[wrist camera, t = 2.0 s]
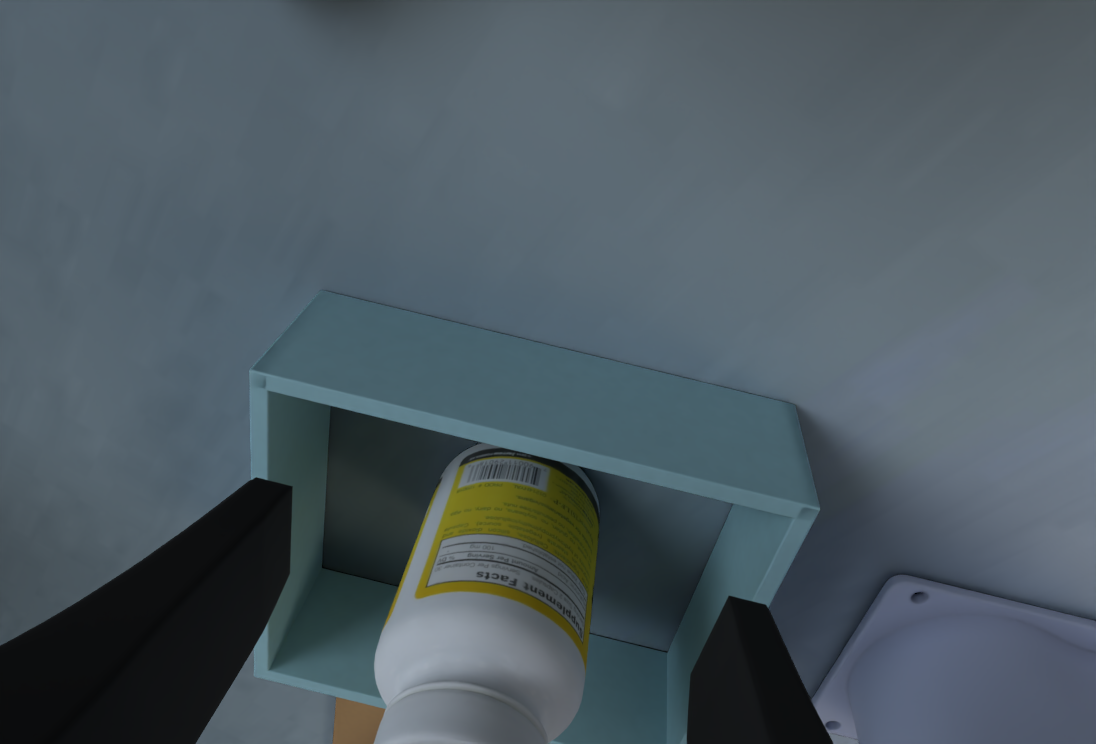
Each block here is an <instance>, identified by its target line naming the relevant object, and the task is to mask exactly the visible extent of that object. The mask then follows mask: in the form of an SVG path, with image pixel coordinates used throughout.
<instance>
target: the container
mask: <svg viewBox="0 0 1096 744" xmlns="http://www.w3.org/2000/svg"><path fill="white" fill-rule="evenodd" d="M249 383H250V441H251V480H252V479H254V478H256V477H257V478H261V479H265V480H269V481H273V482H277V483H281V484H285V485H289V486H293V491H292V524H291V557H290V575H289V577H288V579H287V581H286V584H285V586H284V588H283V590H282V593H281V595H280V597H279V599H278V602H277V604H276V606H275V608H274V610H273V612H272V614H271V617H270V619H269V621H268V623H267V625H266V627H265V629H264V631H263V633H262V635H261V636H260V638H259V640H258V642H257V643H256V645H255V647H254V676H255V677H258V678H262V679H266V680H270V681H274V682H278V683H282V684H286V685H290V686H294V687H298V688H302V689H306V690H311V691H315V692H319V693H323V694H327V695H331V696H335V697H339V698H343V699H347V700H351V701H355V702H359V703H363V704H367V705H371V706H375V707H379V708H383V709H386V707H387V705H386V704H385V702H384V700H383V699H382V697H381V695H380V692H379V690H378V687H377V684H376V679H375V671H374V661H375V653H376V649H377V646H378V642H379V639H380V636H381V632H382V630H383V627H384V624H385V622H386V619H387V616H388V614H389V611H390V608H391V606H392V603H393V601H394V598H395V595H396V592H397V590H398V587H397V586H393V585H389V584H385V583H381V582H376V581H372V580H368V579H364V578H360V577H356V576H352V575H348V574H344V573H340V572H336V571H332V570H328V569H323V568H322V556H323V538H324V519H325V501H326V482H327V463H328V445H329V426H330V408H331V406H334V407H338V408H342V409H346V410H350V411H354V412H358V413H362V414H366V415H371V416H375V417H379V418H383V419H387V420H391V421H395V422H399V423H403V424H407V425H412V426H416V427H420V428H424V429H428V430H432V431H436V432H440V433H444V434H449V435H453V436H457V437H461V438H465V439H469V440H473V441H477V442H481V443H486V444H490V445H494V446H498V447H502V448H506V449H510V450H514V451H518V452H523V453H527V454H531V455H535V456H539V457H543V458H547V459H551V460H555V461H560V462H564V463H568V464H572V465H576V466H580V467H584V468H588V469H592V470H597V471H601V472H605V473H609V474H613V475H617V476H621V477H625V478H629V479H634V480H638V481H642V482H646V483H650V484H654V485H658V486H662V487H666V488H671V489H675V490H679V491H683V492H687V493H691V494H695V495H699V496H703V497H708V498H712V499H716V500H720V501H724V502H728V503H732V504H733V506H732V508H731V510H730V512H729V515H728V517H727V519H726V522H725V524H724V526H723V528H722V531H721V533H720V535H719V537H718V540H717V542H716V544H715V546H714V549H713V551H712V553H711V555H710V558H709V560H708V562H707V565H706V567H705V569H704V571H703V574H702V576H701V578H700V580H699V583H698V585H697V587H696V589H695V592H694V594H693V596H692V598H691V601H690V603H689V605H688V608H687V610H686V612H685V614H684V617H683V619H682V621H681V623H680V626H679V628H678V630H677V632H676V635H675V637H674V639H673V641H672V644H671V646H670V648H669V651H668V653H666V652H662V651H658V650H654V649H650V648H646V647H641V646H637V645H633V644H629V643H625V642H621V641H617V640H613V639H609V638H605V637H601V636H597V635H593V634H589V643H588V654H587V665H586V675H585V684H584V690H583V696H582V701H581V704H580V707H579V709H578V712H577V713H576V715H575V717H574V719H573V721H572V722H571V723H570V725H569V726H568V727H567V728H566V729H565V730H564V731H563V732H562V733H561V734H560V735H559V736H558V737H557V738H555V739H554V740H552V741H551V742H549V743H548V744H687V721H688V703H689V688H690V674H691V672H692V670H693V668H694V666H695V664H696V662H697V660H698V658H699V656H700V654H701V652H702V649H703V647H704V645H705V643H706V641H707V639H708V637H709V635H710V633H711V631H712V629H713V627H714V625H715V623H716V621H717V619H718V617H719V615H720V613H721V611H722V608H723V606H724V604H725V602H726V600H727V598H728V596H733V597H737V598H741V599H745V600H749V601H753V602H757V603H761V604H765V605H767V607H768V608H769V606H770V604H771V602H772V600H773V598H774V596H775V595H776V593H777V591H778V589H779V587H780V585H781V583H782V581H783V579H784V577H785V576H786V574H787V572H788V570H789V568H790V566H791V564H792V562H793V560H794V559H795V557H796V555H797V553H798V551H799V549H800V547H801V545H802V543H803V541H804V540H805V538H806V536H807V534H808V532H809V530H810V528H811V526H812V524H813V523H814V521H815V519H816V517H817V515H818V513H819V511H820V505H819V500H818V496H817V492H816V488H815V484H814V480H813V476H812V472H811V468H810V464H809V460H808V456H807V452H806V448H805V444H804V439H803V435H802V431H801V427H800V423H799V419H798V415H797V411H796V407H795V405H794V404H791V403H787V402H783V401H778V400H774V399H770V398H766V397H762V396H758V395H754V394H749V393H745V392H741V391H737V390H733V389H729V388H725V387H721V386H716V385H712V384H708V383H704V382H700V381H696V380H692V379H687V378H683V377H679V376H675V375H671V374H667V373H663V372H659V371H654V370H650V369H646V368H642V367H638V366H634V365H630V364H625V363H621V362H617V361H613V360H609V359H605V358H601V357H596V356H592V355H588V354H584V353H580V352H576V351H572V350H568V349H563V348H559V347H555V346H551V345H547V344H543V343H539V342H534V341H530V340H526V339H522V338H518V337H514V336H510V335H506V334H501V333H497V332H493V331H489V330H485V329H481V328H477V327H472V326H468V325H464V324H460V323H456V322H452V321H448V320H444V319H439V318H435V317H431V316H427V315H423V314H419V313H415V312H410V311H406V310H402V309H398V308H394V307H390V306H386V305H382V304H377V303H373V302H369V301H365V300H361V299H357V298H353V297H348V296H344V295H340V294H336V293H332V292H328V291H324V290H320V291H319V293H318V294H317V295H316V296H315V297H314V298H313V299H312V300H311V301H310V303H309V304H308V305H307V306H306V307H305V308H304V309H303V310H302V312H301V313H300V314H299V315H298V316H297V317H296V318H295V319H294V321H293V322H292V323H291V324H290V325H289V326H288V327H287V328H286V330H285V331H284V332H283V333H282V334H281V335H280V336H279V337H278V339H277V340H276V341H275V342H274V343H273V344H272V345H271V346H270V348H269V349H268V350H267V351H266V352H265V353H264V354H263V355H262V357H261V358H260V359H259V360H258V361H257V362H256V363H255V364H254V366H253V367H252V368H251V369H250V370H249Z"/></svg>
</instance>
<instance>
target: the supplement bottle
mask: <svg viewBox="0 0 1096 744" xmlns="http://www.w3.org/2000/svg"><path fill="white" fill-rule="evenodd" d="M599 520H600V510H599V502H598V498H597V494H596V492H595V490H594V487H593V485H592V484H591V482H590V480H589V479H588V477H587V476H586V474H585V473H584V472H583V471H582V470H581V469H580V468H579V467H578V466H576V465H572V464H568V463H564V462H560V461H555V460H551V459H547V458H543V457H539V456H535V455H531V454H527V453H523V452H518V451H514V450H510V449H506V448H502V447H498V446H494V445H490V444H486V443H481V444H478V445H475V446H473V447H471V448H469V449H467V450H465V451H464V452H462V453H461V454H459V455H458V456H457V457H456V458H455V459H453V460H452V461H451V462H450V464H449V465H448V466H447V467H446V469H445V470H444V472H443V474H442V475H441V477H440V480H439V482H438V484H437V486H436V489H435V491H434V494H433V497H432V499H431V502H430V504H429V507H428V509H427V512H426V515H425V517H424V520H423V523H422V526H421V528H420V531H419V534H418V536H417V539H416V542H415V544H414V547H413V550H412V552H411V555H410V558H409V560H408V563H407V566H406V568H405V571H404V574H403V577H402V579H401V582H400V585H399V587H398V590H397V592H396V595H395V598H394V601H393V603H392V606H391V608H390V611H389V614H388V616H387V619H386V622H385V624H384V627H383V630H382V632H381V636H380V639H379V642H378V646H377V649H376V653H375V661H374V671H375V679H376V684H377V687H378V690H379V692H380V695H381V697H382V699H383V700H384V702H385V704H386V705H387V707H386V710H385V712H384V716H383V718H382V720H381V722H380V725H379V728H378V731H377V735H376V738H375V741H374V744H548V743H549V742H551V741H552V740H554V739H555V738H557V737H558V736H559V735H560V734H561V733H562V732H563V731H564V730H565V729H566V728H567V727H568V726H569V725H570V723H571V722H572V721H573V719H574V717H575V715H576V713H577V712H578V709H579V707H580V704H581V701H582V696H583V690H584V684H585V675H586V665H587V654H588V643H589V632H590V622H591V610H592V602H593V589H594V580H595V568H596V558H597V548H598V538H599Z"/></svg>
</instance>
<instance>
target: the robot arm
mask: <svg viewBox="0 0 1096 744" xmlns="http://www.w3.org/2000/svg"><path fill="white" fill-rule="evenodd" d="M292 491H293V486H289V485H285V484H281V483H277V482H273V481H269V480H265V479H261V478H257V477H256V478H254V479H252V480H250V481H248V482H247V483H246V484H245V485H243V486H242V487H241V488H239V489H238V490H237V491H235V492H234V493H233V494H232V495H230V496H229V497H228V498H226V499H225V500H224V501H222V502H221V503H220V504H219V505H217V506H216V507H215V508H213V509H212V510H211V511H209V512H208V513H207V514H205V515H204V516H203V517H201V518H200V519H199V520H197V521H196V522H195V523H193V524H192V525H191V526H189V527H188V528H187V529H185V530H184V531H182V532H181V533H180V534H178V535H177V536H175V537H174V538H173V539H171V540H170V541H168V542H167V543H166V544H164V545H163V546H161V547H160V548H159V549H157V550H156V551H154V552H153V553H151V554H150V555H149V556H147V557H146V558H144V559H143V560H142V561H140V562H139V563H137V564H136V565H134V566H133V567H131V568H130V569H128V570H127V571H125V572H124V573H122V574H120V575H119V576H117V577H116V578H114V579H113V580H111V581H110V582H108V583H106V584H105V585H103V586H102V587H100V588H99V589H97V590H96V591H94V592H92V593H91V594H89V595H88V596H86V597H85V598H83V599H82V600H80V601H78V602H77V603H75V604H73V605H72V606H70V607H68V608H67V609H65V610H63V611H62V612H60V613H58V614H57V615H55V616H53V617H51V618H50V619H48V620H46V621H45V622H43V623H41V624H39V625H37V626H36V627H34V628H32V629H30V630H28V631H27V632H25V633H23V634H21V635H19V636H18V637H16V638H14V639H12V640H10V641H8V642H7V643H5V644H3V645H1V646H0V744H195V743H196V742H197V740H198V739H199V737H200V735H201V734H202V732H203V730H204V729H205V727H206V725H207V724H208V722H209V721H210V719H211V717H212V716H213V714H214V712H215V711H216V709H217V707H218V706H219V704H220V703H221V701H222V699H223V698H224V696H225V694H226V693H227V691H228V689H229V688H230V686H231V685H232V683H233V681H234V680H235V678H236V676H237V675H238V673H239V671H240V670H241V668H242V666H243V665H244V663H245V661H246V660H247V658H248V657H249V655H250V653H251V652H252V650H253V648H254V647H255V645H256V643H257V642H258V640H259V638H260V636H261V635H262V633H263V631H264V629H265V627H266V625H267V623H268V621H269V619H270V617H271V614H272V612H273V610H274V608H275V606H276V604H277V602H278V599H279V597H280V595H281V593H282V590H283V588H284V586H285V584H286V581H287V579H288V577H289V575H290V557H291V524H292ZM917 592H922V593H919V594H914V593H917ZM828 733H832V734H836V735H841V736H845V737H849V738H853V739H857V740H858V741H859V744H1096V621H1094V620H1090V619H1086V618H1082V617H1078V616H1073V615H1069V614H1065V613H1061V612H1057V611H1053V610H1049V609H1045V608H1041V607H1037V606H1032V605H1028V604H1024V603H1020V602H1016V601H1012V600H1008V599H1004V598H1000V597H995V596H991V595H987V594H983V593H979V592H975V591H971V590H967V589H963V588H959V587H954V586H950V585H946V584H942V583H938V582H934V581H930V580H926V579H922V578H917V577H913V576H909V575H896V576H894V577H891V578H890V579H889V580H888V581H887V582H886V583H885V584H884V586H883V588H882V589H881V591H880V592H879V594H878V596H877V597H876V599H875V600H874V602H873V603H872V605H871V607H870V608H869V610H868V611H867V613H866V614H865V616H864V618H863V619H862V621H861V622H860V624H859V625H858V627H857V629H856V630H855V632H854V633H853V635H852V637H851V638H850V640H849V641H848V643H847V644H846V646H845V648H844V649H843V651H842V652H841V654H840V655H839V657H838V659H837V660H836V662H835V663H834V665H833V666H832V668H831V670H830V671H829V673H828V674H827V676H826V677H825V679H824V681H823V682H822V684H821V685H820V687H819V689H818V690H817V692H816V693H815V695H814V696H813V698H812V700H811V699H810V697H809V695H808V693H807V691H806V689H805V686H804V684H803V682H802V680H801V678H800V676H799V674H798V672H797V670H796V667H795V665H794V663H793V661H792V659H791V657H790V654H789V652H788V650H787V648H786V646H785V644H784V641H783V639H782V637H781V635H780V632H779V630H778V628H777V626H776V624H775V621H774V619H773V617H772V615H771V612H770V611H769V609H768V607H767V605H765V604H761V603H757V602H753V601H749V600H745V599H741V598H737V597H733V596H728V598H727V600H726V602H725V604H724V606H723V608H722V611H721V613H720V615H719V617H718V619H717V621H716V623H715V625H714V627H713V629H712V631H711V633H710V635H709V637H708V639H707V641H706V643H705V645H704V647H703V649H702V652H701V654H700V656H699V658H698V660H697V662H696V664H695V666H694V668H693V670H692V672H691V674H690V688H689V703H688V721H687V744H833V742H832V740H831V738H830V736H829V734H828Z"/></svg>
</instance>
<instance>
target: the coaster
mask: <svg viewBox="0 0 1096 744" xmlns="http://www.w3.org/2000/svg"><path fill="white" fill-rule="evenodd" d="M385 710H386V709H383V708H379V707H375V706H371V705H367V704H363V703H359V702H355V701H351V700H347V699H343V698H339V697H336V708H335V721H334V733H333V744H374V741H375V738H376V735H377V731H378V728H379V725H380V722H381V720H382V718H383V716H384V712H385Z"/></svg>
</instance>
